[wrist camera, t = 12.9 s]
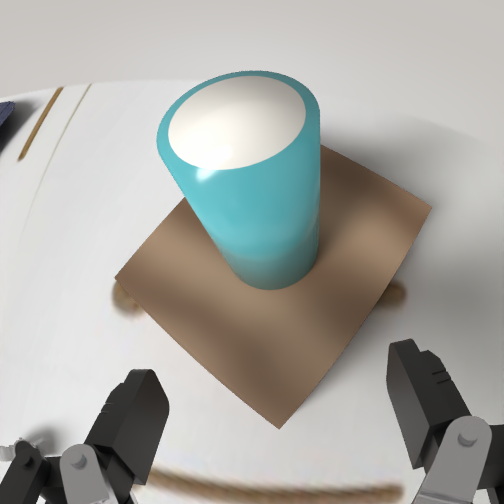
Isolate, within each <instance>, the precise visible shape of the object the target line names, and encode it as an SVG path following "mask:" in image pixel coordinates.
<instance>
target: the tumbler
mask: <svg viewBox="0 0 504 504" xmlns="http://www.w3.org/2000/svg"><path fill="white" fill-rule="evenodd" d="M157 148H158V152H159V155H160V156H161V158H162V160H163V162H164V163H165V165H166V167H167V168H168V170H169V171H170V173H171V175H172V176H173V178H174V180H175V181H176V183H177V184H178V186H179V188H180V189H181V191H182V193H183V194H184V196H185V197H186V199H187V201H188V202H189V204H190V205H191V207H192V209H193V210H194V212H195V213H196V215H197V217H198V218H199V220H200V221H201V223H202V225H203V226H204V228H205V229H206V231H207V233H208V234H209V236H210V237H211V239H212V240H213V242H214V244H215V245H216V247H217V248H218V250H219V251H220V253H221V255H222V256H223V258H224V259H225V261H226V262H227V264H228V265H229V267H230V269H231V270H232V272H233V273H234V274H235V275H236V277H238V278H239V279H240V280H241V281H242V282H244V283H245V284H247V285H249V286H251V287H254V288H257V289H262V290H277V289H283V288H286V287H289V286H291V285H293V284H295V283H297V282H298V281H300V280H301V279H302V278H303V277H305V276H306V274H307V273H308V272H309V271H310V270H311V268H312V267H313V265H314V263H315V261H316V258H317V254H318V245H319V217H320V110H319V106H318V103H317V101H316V98H315V97H314V95H313V94H312V93H311V91H310V90H309V89H308V88H307V87H306V86H304V85H303V84H301V83H300V82H298V81H297V80H295V79H293V78H290V77H288V76H286V75H282V74H279V73H274V72H268V71H241V72H235V73H230V74H226V75H222V76H219V77H216V78H213V79H210V80H208V81H205V82H203V83H201V84H199V85H197V86H196V87H194V88H192V89H191V90H189V91H188V92H187V93H185V94H184V95H182V96H181V97H180V98H179V99H178V100H177V101H176V102H175V103H174V104H173V105H172V106H171V107H170V108H169V110H168V111H167V112H166V114H165V115H164V117H163V119H162V121H161V123H160V125H159V129H158V132H157Z"/></svg>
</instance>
